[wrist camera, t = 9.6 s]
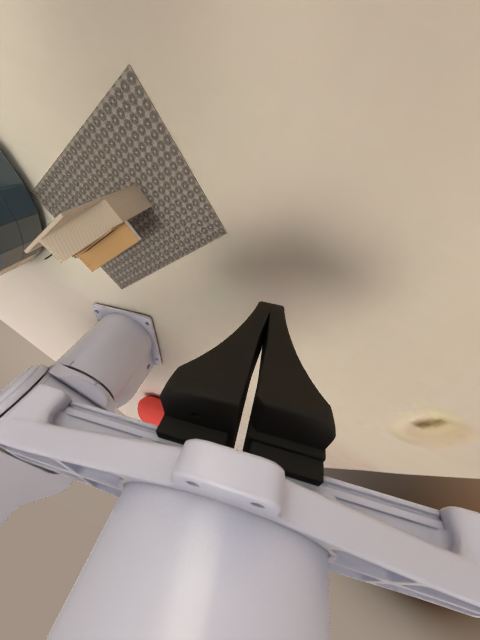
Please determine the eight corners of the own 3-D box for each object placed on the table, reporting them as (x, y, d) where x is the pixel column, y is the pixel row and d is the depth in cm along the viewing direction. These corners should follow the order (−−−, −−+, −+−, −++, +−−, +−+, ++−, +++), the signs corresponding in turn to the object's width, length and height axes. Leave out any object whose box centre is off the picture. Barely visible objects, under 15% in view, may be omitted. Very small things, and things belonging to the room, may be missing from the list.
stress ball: (168, 384, 42) (134, 407, 38) (194, 425, 42) (164, 452, 39) (161, 383, 46) (130, 405, 42) (185, 421, 47) (157, 445, 43)
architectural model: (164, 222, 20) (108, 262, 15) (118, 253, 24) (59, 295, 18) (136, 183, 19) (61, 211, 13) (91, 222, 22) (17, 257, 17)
